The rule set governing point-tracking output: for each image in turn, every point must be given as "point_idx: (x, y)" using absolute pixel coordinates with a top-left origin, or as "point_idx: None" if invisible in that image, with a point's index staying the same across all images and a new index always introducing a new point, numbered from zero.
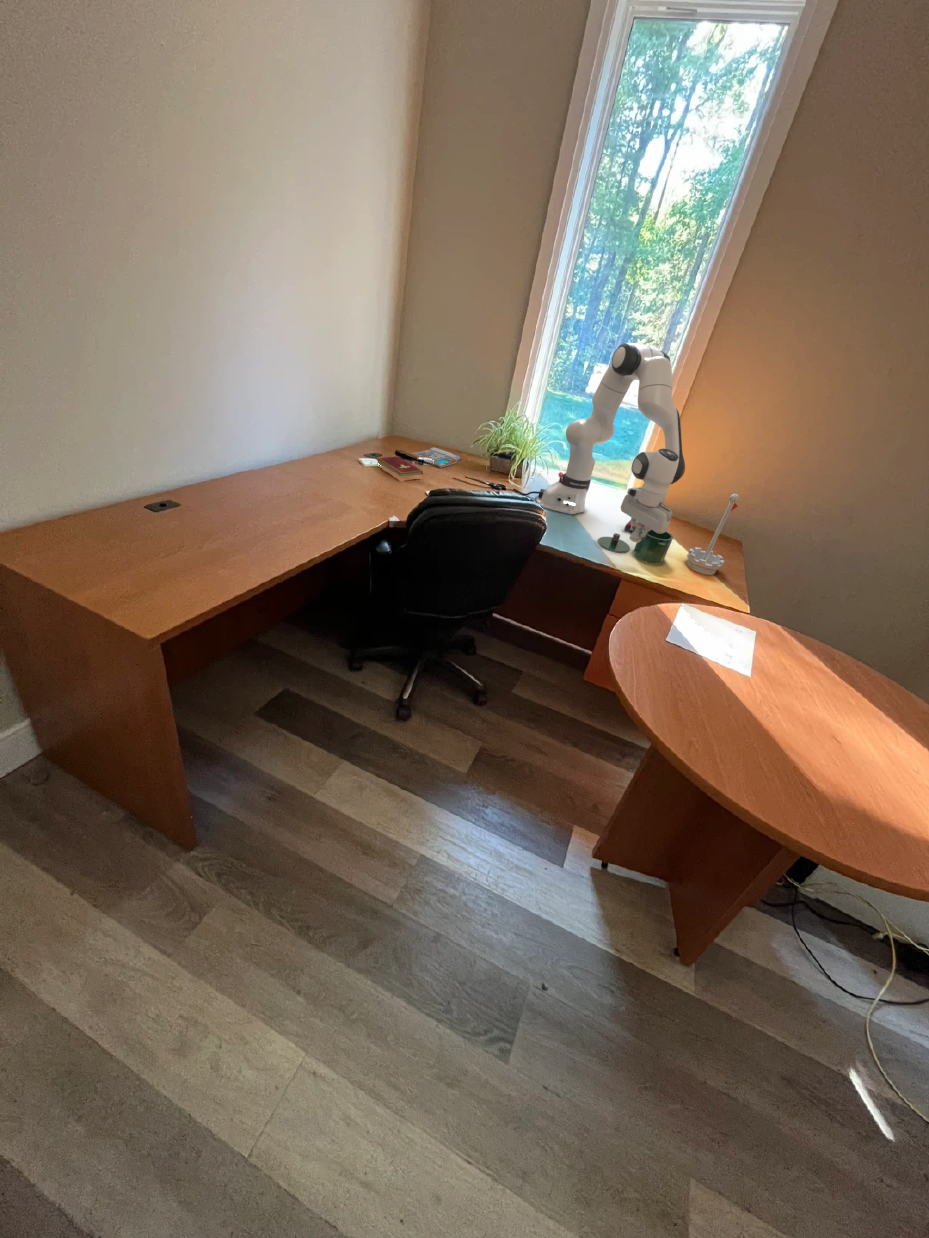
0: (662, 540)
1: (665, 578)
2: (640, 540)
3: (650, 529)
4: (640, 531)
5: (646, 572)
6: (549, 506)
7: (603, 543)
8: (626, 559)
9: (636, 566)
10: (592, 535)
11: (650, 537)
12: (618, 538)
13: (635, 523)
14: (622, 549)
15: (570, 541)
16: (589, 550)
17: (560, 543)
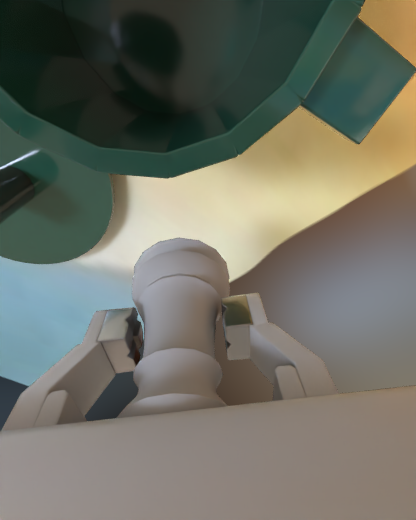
0: (341, 39)
1: (410, 103)
2: (219, 261)
3: (322, 374)
4: (213, 344)
5: (313, 178)
6: None
7: (25, 244)
8: (174, 197)
9: (249, 191)
10: None
11: (219, 158)
12: (7, 200)
13: (84, 367)
14: (87, 176)
15: (17, 339)
16: (89, 311)
17: (44, 371)
